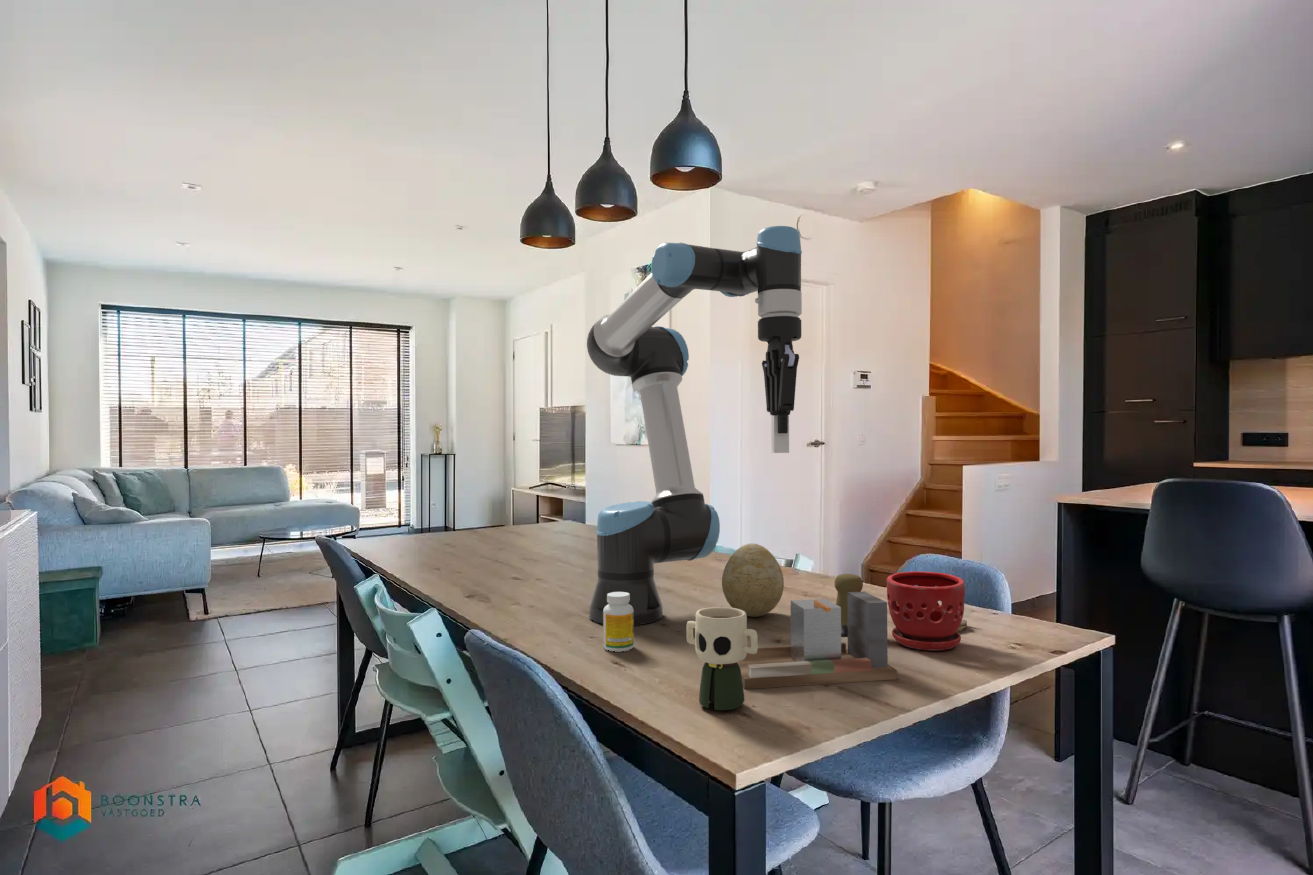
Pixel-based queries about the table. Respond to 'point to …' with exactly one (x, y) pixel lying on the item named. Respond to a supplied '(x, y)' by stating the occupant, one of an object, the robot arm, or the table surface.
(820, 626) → the grey cube with stick
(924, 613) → the plant pot
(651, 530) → the robot arm
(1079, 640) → the table surface
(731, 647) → the character mug
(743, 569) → the fossilized egg
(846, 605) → the olive knobbed pawn
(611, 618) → the supplement bottle
